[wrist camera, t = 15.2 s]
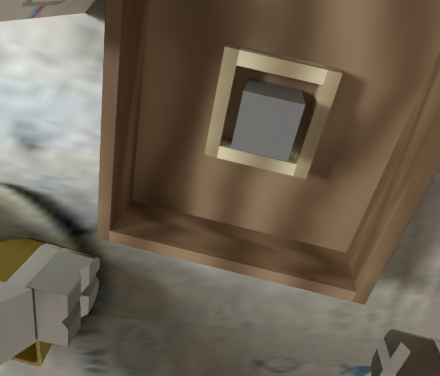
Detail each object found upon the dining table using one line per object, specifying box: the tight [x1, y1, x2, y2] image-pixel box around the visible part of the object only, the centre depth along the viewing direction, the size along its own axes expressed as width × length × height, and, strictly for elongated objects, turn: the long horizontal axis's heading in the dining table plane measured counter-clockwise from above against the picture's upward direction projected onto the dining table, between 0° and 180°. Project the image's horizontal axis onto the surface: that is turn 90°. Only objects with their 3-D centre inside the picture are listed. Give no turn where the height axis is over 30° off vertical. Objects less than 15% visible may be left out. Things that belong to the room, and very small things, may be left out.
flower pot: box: [0, 238, 63, 366], centre depth 36 cm, size 9×9×9 cm
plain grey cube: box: [231, 78, 305, 162], centre depth 26 cm, size 4×4×4 cm
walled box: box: [97, 0, 440, 304], centre depth 26 cm, size 22×24×6 cm
